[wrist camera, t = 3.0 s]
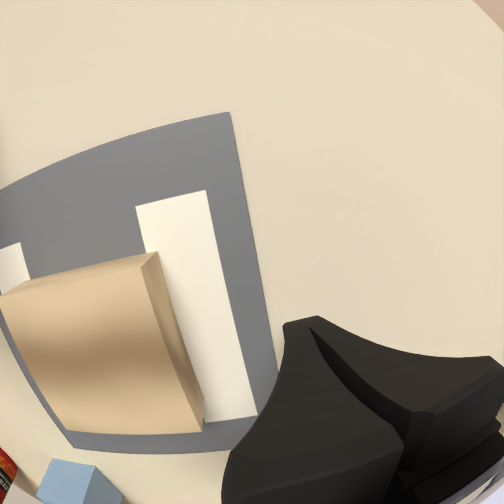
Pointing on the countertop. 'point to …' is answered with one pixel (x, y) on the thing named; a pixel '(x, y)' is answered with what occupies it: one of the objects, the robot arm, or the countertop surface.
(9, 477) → the canned food
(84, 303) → the oak slab
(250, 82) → the countertop surface
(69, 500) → the blue cube
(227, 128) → the letter card
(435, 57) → the countertop surface
